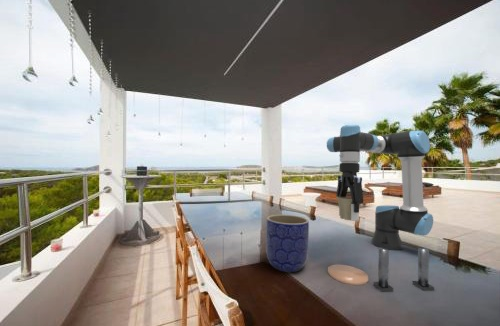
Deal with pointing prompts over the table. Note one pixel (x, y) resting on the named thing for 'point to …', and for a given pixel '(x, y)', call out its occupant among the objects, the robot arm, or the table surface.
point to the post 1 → (383, 271)
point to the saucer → (348, 274)
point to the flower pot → (345, 207)
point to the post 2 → (423, 270)
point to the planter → (287, 242)
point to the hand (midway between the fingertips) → (348, 218)
